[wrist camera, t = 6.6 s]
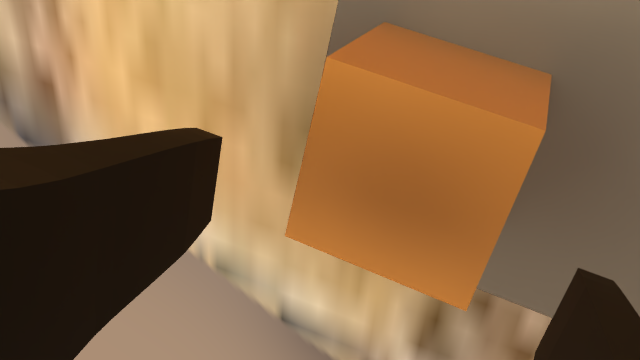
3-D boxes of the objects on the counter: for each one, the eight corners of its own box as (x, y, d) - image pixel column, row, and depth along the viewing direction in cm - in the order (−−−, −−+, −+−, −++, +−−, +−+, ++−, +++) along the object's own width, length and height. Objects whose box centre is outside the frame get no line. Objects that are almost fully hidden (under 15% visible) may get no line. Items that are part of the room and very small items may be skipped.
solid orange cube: (551, 74, 17) (545, 130, 12) (488, 221, 19) (465, 311, 15) (384, 21, 18) (326, 56, 14) (344, 167, 20) (284, 236, 16)
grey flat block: (885, 57, 15) (1009, 114, 11) (690, 345, 20) (723, 464, 16) (370, -78, 18) (309, -74, 14) (306, 199, 23) (247, 264, 19)
